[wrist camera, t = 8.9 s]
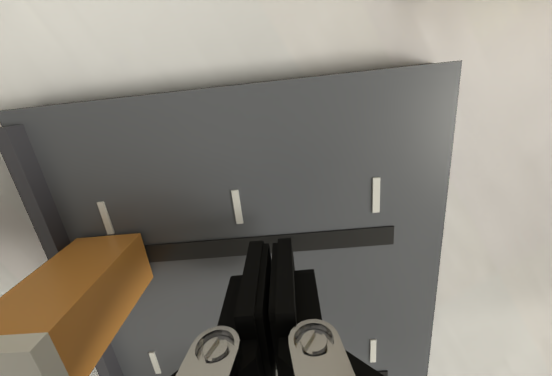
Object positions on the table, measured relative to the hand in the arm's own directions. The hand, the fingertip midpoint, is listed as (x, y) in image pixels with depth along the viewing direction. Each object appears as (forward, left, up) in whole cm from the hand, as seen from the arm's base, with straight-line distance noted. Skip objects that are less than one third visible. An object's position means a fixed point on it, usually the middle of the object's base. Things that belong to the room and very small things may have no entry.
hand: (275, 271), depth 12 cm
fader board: (+2, +3, -4) cm, 5 cm away
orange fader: (+8, 0, -2) cm, 8 cm away
